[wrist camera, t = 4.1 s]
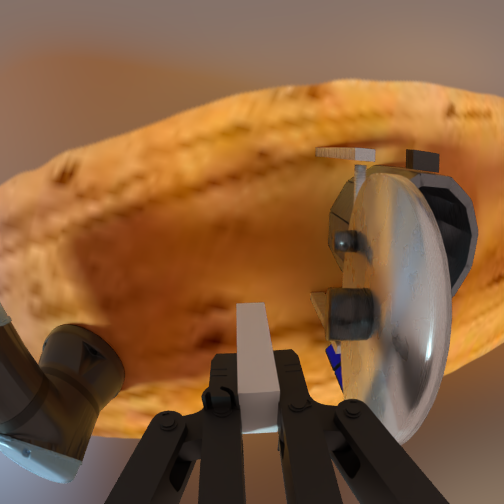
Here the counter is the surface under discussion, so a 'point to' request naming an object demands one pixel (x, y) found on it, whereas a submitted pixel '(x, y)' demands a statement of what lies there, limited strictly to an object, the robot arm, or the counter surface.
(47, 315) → the counter surface
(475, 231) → the pot
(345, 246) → the lid
